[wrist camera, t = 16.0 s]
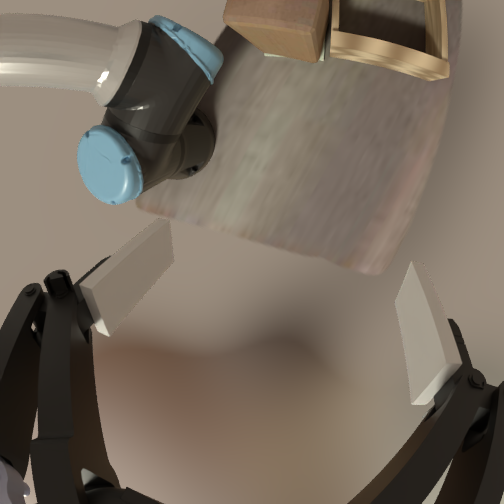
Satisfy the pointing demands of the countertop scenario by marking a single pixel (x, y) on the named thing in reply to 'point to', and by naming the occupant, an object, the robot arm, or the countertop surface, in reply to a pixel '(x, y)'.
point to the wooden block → (281, 25)
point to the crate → (398, 46)
